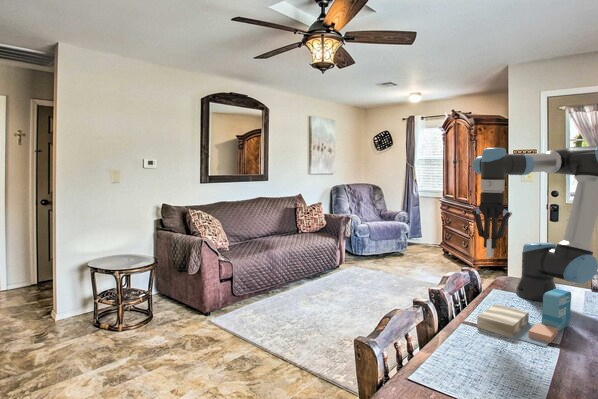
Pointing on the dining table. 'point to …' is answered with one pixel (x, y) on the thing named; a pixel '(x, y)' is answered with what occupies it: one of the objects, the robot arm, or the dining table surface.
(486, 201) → the robot arm
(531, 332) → the salmon orange flat block
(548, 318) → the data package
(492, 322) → the plate
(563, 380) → the dining table surface
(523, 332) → the mat
